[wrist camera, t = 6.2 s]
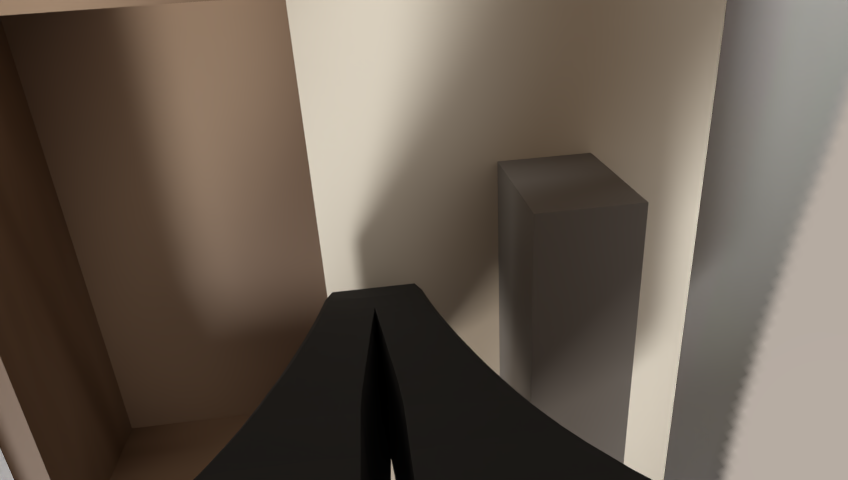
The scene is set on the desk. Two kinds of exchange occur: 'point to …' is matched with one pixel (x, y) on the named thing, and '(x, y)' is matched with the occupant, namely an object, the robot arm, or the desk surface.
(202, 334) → the walnut box
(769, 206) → the desk surface
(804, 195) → the desk surface
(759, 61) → the desk surface
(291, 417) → the robot arm
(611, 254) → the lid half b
